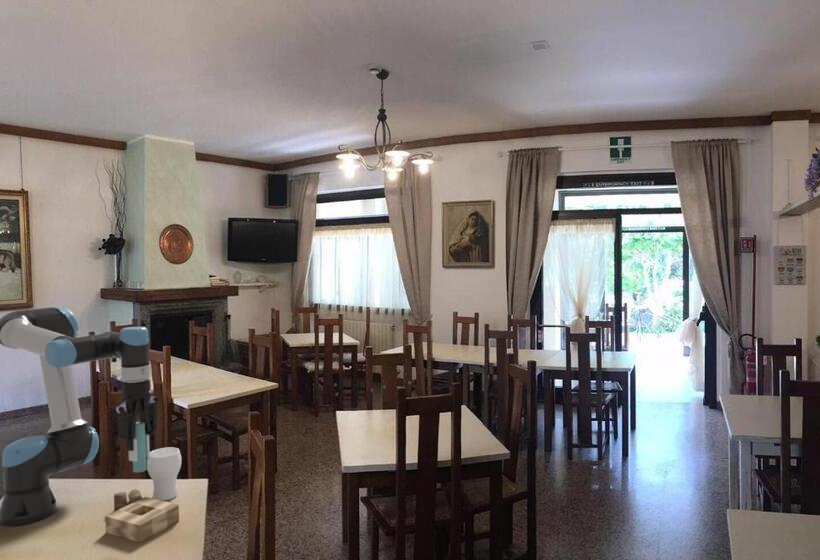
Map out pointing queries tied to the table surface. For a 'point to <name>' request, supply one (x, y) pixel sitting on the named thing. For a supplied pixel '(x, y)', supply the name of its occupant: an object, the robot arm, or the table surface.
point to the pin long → (140, 448)
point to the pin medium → (134, 496)
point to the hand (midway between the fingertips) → (139, 458)
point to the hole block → (142, 519)
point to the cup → (164, 472)
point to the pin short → (120, 500)
